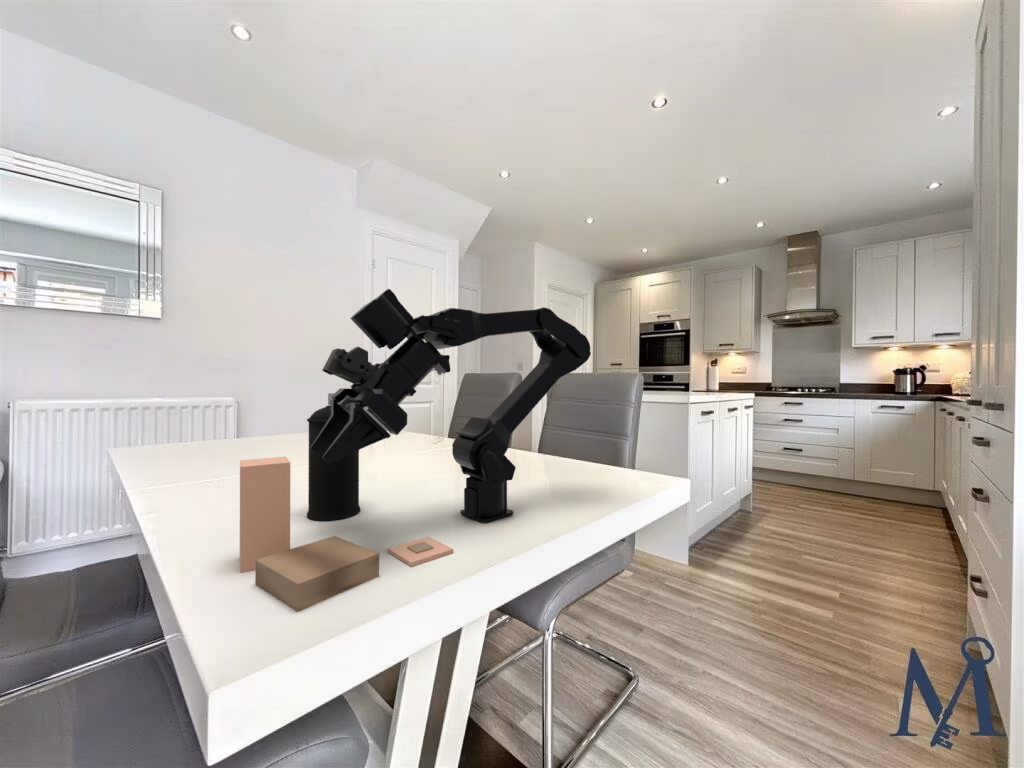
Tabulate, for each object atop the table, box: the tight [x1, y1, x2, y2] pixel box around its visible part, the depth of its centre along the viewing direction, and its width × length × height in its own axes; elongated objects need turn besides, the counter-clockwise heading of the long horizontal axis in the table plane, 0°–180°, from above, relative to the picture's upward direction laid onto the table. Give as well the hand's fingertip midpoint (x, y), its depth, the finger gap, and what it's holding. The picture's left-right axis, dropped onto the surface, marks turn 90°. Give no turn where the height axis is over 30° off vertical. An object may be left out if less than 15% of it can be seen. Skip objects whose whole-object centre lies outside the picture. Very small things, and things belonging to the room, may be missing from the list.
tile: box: [386, 535, 454, 568], centre depth 52 cm, size 6×6×1 cm
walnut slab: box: [254, 535, 380, 613], centre depth 45 cm, size 9×9×3 cm
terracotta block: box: [239, 456, 291, 574], centre depth 50 cm, size 5×5×12 cm
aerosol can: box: [306, 392, 361, 522], centre depth 69 cm, size 8×8×20 cm
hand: (318, 455), depth 54 cm, fingers open, 9 cm apart
